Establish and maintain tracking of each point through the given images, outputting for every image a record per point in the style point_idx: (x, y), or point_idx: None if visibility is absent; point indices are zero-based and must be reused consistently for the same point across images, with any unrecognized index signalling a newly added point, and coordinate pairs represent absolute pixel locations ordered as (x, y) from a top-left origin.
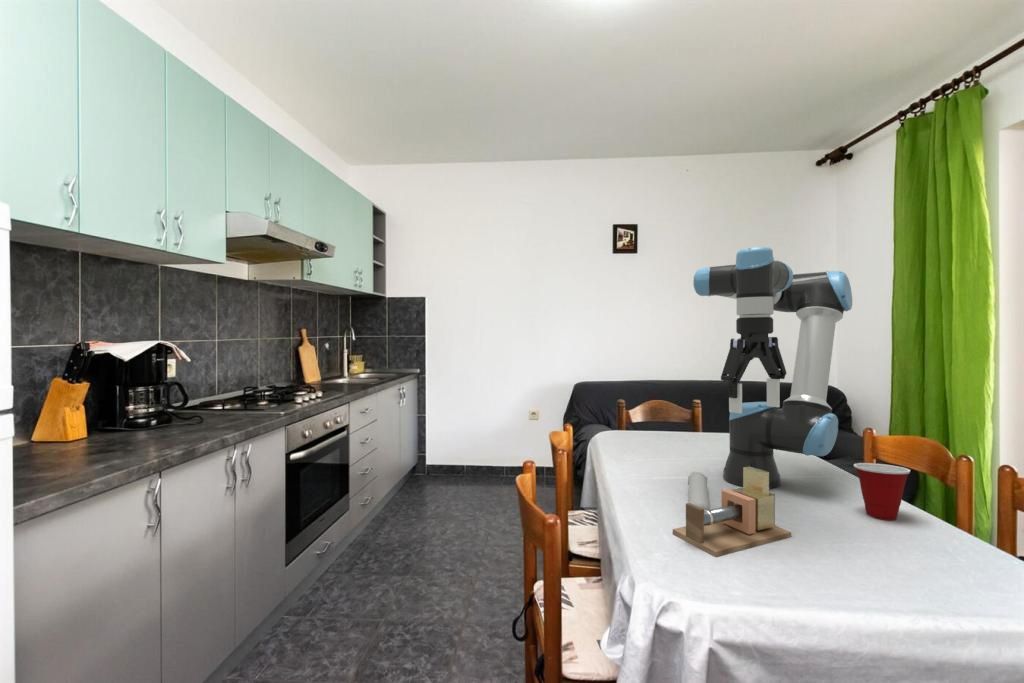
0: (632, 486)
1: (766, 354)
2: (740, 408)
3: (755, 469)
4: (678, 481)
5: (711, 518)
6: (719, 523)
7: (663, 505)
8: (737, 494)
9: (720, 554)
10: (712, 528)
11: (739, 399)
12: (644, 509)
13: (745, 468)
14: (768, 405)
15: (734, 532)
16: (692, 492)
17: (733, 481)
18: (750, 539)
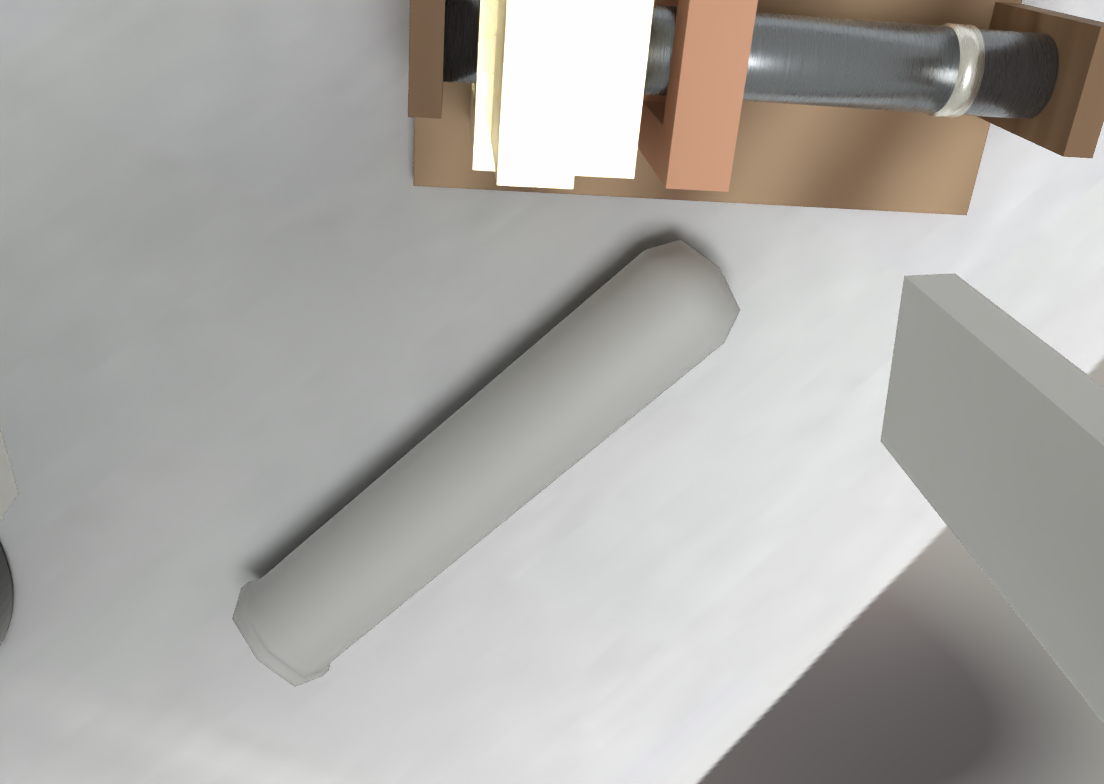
0: (590, 752)
1: None
2: (977, 302)
3: (536, 97)
4: (294, 722)
5: (974, 29)
6: None
7: (671, 500)
8: (712, 76)
9: None
10: (784, 115)
11: (1072, 368)
12: (801, 500)
13: (574, 165)
14: (6, 473)
15: None
16: (581, 449)
17: (4, 581)
18: None
